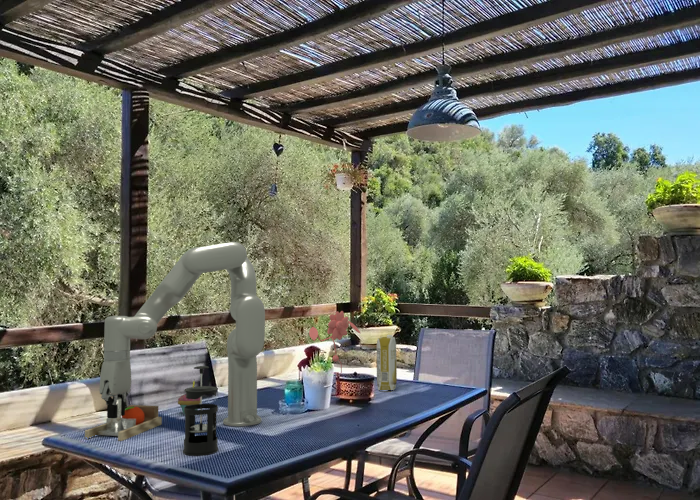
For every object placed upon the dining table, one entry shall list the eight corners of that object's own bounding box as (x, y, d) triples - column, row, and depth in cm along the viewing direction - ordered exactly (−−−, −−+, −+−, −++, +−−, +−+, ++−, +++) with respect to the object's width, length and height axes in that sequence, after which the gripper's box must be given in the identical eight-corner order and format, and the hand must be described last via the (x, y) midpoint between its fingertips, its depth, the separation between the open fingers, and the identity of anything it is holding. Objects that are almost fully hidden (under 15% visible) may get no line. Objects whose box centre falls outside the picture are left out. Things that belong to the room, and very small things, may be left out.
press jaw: (109, 430, 186) (110, 396, 187) (135, 431, 184) (136, 397, 185) (97, 434, 181) (98, 399, 181) (124, 436, 179) (125, 400, 179)
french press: (226, 451, 162) (227, 366, 164) (196, 458, 156) (197, 369, 157) (202, 444, 170) (203, 362, 172) (172, 450, 163) (173, 366, 165)
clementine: (125, 433, 185) (125, 409, 185) (114, 429, 189) (114, 407, 190) (148, 428, 191) (148, 405, 191) (137, 425, 195) (137, 403, 196)
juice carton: (394, 392, 255) (393, 335, 257) (376, 391, 257) (375, 335, 258) (397, 388, 264) (396, 334, 266) (380, 388, 266) (379, 334, 268)
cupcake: (190, 410, 220) (190, 377, 221) (207, 412, 216) (207, 378, 216) (172, 414, 212) (172, 380, 213) (189, 416, 208) (190, 382, 209)
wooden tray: (127, 423, 199) (128, 404, 199) (161, 424, 196) (161, 406, 196) (84, 439, 177) (85, 418, 178) (121, 441, 175) (122, 420, 175)
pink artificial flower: (303, 395, 248) (305, 311, 250) (349, 388, 266) (350, 309, 268) (327, 401, 237) (328, 312, 239) (373, 393, 255) (374, 311, 256)
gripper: (122, 353, 192) (121, 411, 191) (89, 359, 176) (87, 422, 175) (142, 353, 191) (142, 411, 189) (111, 359, 175) (110, 423, 173)
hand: (116, 416), depth 182 cm, fingers closed on press jaw, 3 cm apart
